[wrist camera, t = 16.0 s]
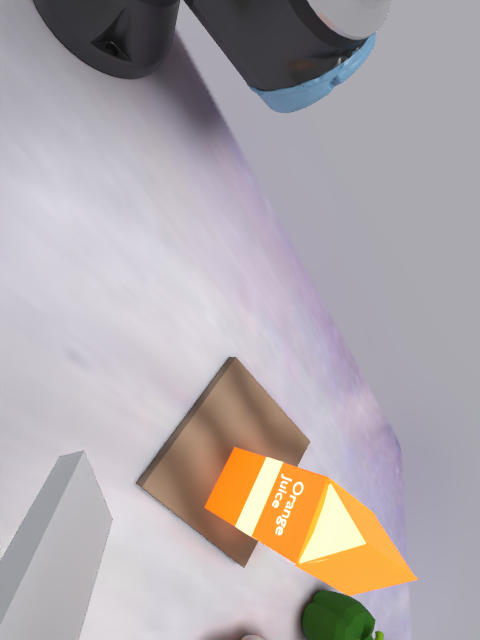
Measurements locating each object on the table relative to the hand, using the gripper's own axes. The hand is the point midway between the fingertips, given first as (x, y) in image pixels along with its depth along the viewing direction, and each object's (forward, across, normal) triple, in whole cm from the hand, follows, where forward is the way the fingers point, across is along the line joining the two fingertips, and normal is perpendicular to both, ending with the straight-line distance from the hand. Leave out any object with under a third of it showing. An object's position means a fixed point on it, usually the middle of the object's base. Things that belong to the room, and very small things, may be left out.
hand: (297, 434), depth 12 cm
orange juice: (+27, -4, -26) cm, 38 cm away
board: (+30, -5, -23) cm, 38 cm away
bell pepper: (+28, +1, -50) cm, 57 cm away
